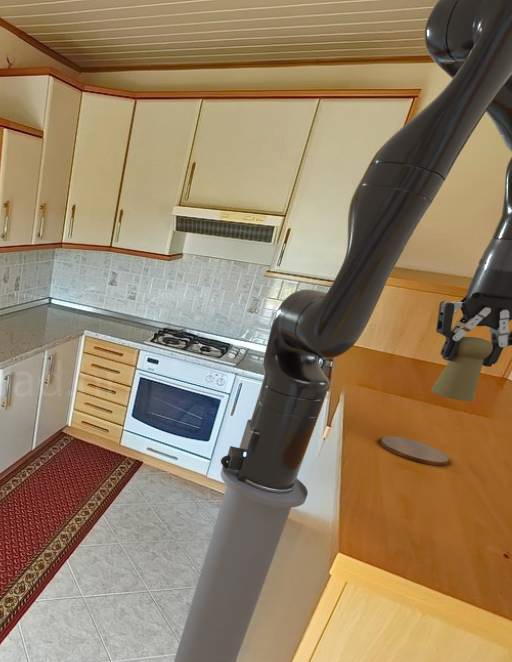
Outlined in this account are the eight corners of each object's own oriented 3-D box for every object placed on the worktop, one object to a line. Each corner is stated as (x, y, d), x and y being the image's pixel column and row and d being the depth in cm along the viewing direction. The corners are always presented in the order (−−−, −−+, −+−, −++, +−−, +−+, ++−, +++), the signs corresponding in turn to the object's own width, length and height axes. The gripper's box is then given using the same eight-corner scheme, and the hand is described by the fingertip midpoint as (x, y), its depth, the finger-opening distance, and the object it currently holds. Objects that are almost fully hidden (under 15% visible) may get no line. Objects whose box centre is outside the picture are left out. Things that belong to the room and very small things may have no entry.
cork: (481, 403, 88) (508, 344, 84) (444, 398, 89) (470, 340, 85) (458, 391, 94) (482, 336, 90) (423, 387, 94) (446, 332, 90)
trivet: (392, 457, 97) (394, 453, 97) (372, 435, 107) (373, 431, 107) (458, 470, 94) (460, 466, 94) (431, 446, 104) (433, 443, 104)
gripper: (468, 265, 82) (428, 360, 88) (577, 276, 78) (527, 375, 84) (446, 261, 88) (410, 350, 94) (545, 271, 84) (502, 364, 90)
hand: (466, 362), depth 89 cm, fingers closed on cork, 5 cm apart
